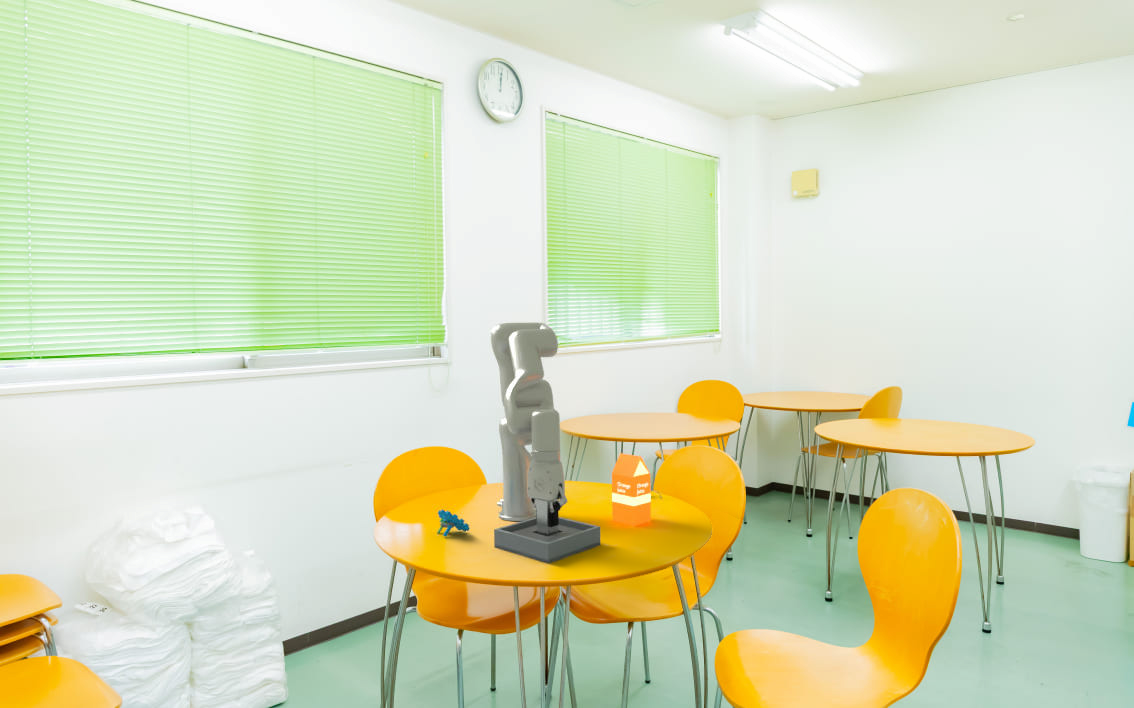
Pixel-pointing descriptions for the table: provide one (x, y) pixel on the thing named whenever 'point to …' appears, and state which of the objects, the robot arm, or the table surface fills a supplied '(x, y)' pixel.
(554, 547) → the box
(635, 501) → the orange juice
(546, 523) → the peg
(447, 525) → the blue bumpy legged piece
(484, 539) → the table surface
